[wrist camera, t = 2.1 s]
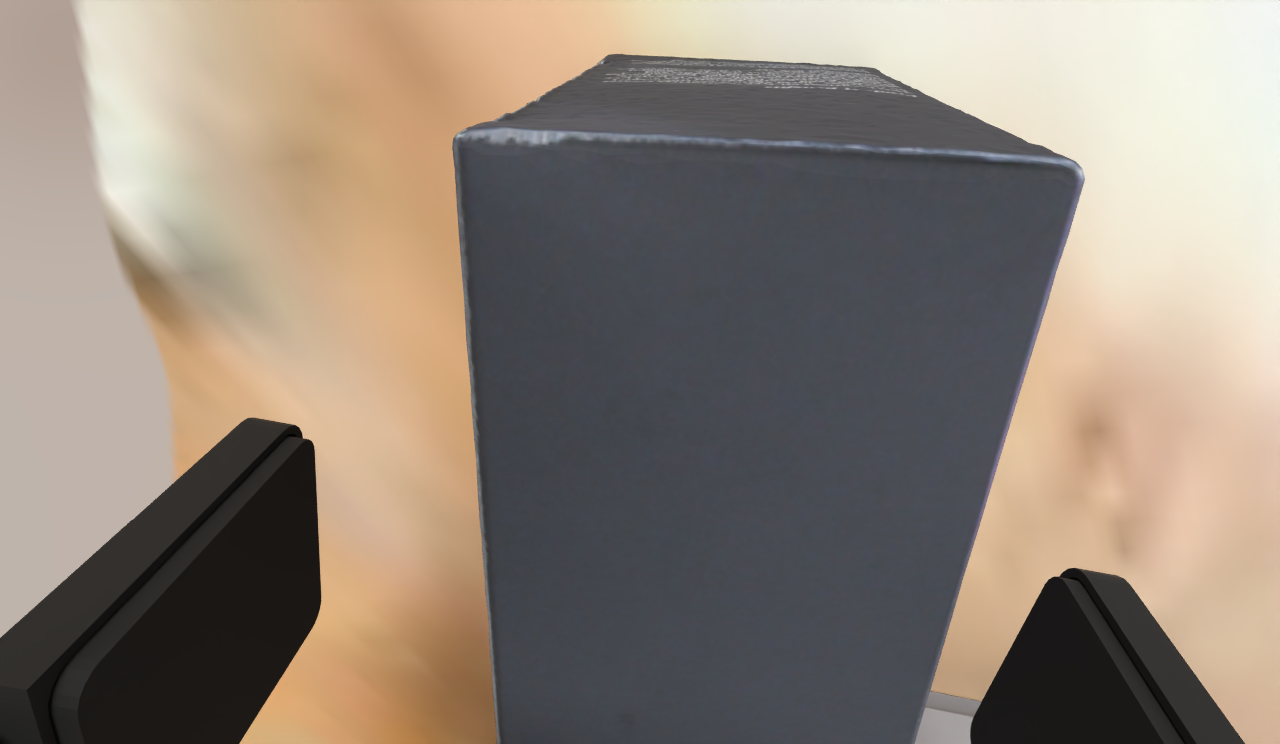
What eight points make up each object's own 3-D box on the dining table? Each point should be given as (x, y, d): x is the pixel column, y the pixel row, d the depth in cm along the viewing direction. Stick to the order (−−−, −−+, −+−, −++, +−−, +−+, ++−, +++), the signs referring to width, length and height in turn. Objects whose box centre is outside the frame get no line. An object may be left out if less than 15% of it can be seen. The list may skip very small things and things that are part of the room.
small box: (826, 475, 21) (904, 873, 11) (593, 454, 21) (484, 818, 12) (899, 61, 16) (1141, 163, 6) (594, 49, 16) (411, 125, 7)
